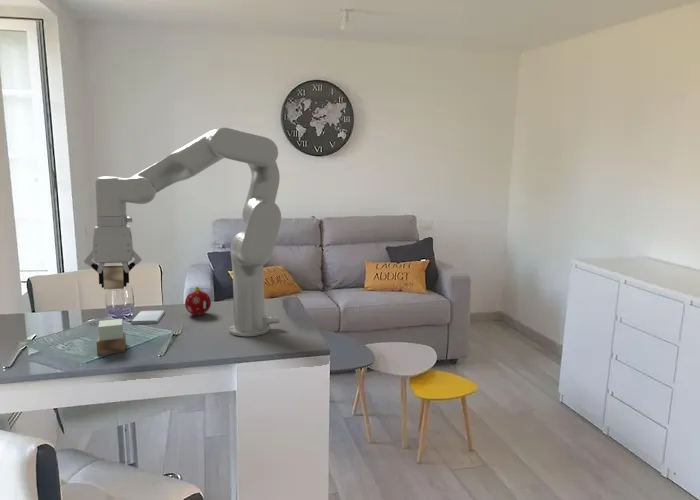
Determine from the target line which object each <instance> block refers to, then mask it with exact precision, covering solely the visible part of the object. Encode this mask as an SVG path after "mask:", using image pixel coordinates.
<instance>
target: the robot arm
mask: <svg viewBox="0 0 700 500" xmlns="http://www.w3.org/2000/svg"><path fill="white" fill-rule="evenodd" d="M278 157H279V149H278V146H277V144H276V143H275V141H273V140H272V139H270V138H268V137H265V136H262V135H257V134H254V133H251V132H250V133H249V132H245V131H241V130H237V129H234V128H230V127H218V128H215V129H211V130H210V131H208V132H206V133H204V134H203V135H201V136H199V137H198V138H195V139H194V140H193V141H191V142H189V143H187V144H186V145H183V146H182V147H181V148H178V149H176V150H175V151H173V152H172V153H170V154H168V155H167V156H166V157H164V158H162V159H161V160H159V161H157V162H155V163H154V164H152V165H150V166H148V167H146V168H145V169H143V170H141V171H139V172H138V173H136V174H134V175H132V176H131V177H127V178H126V177H125V178H123V177H120V176H99V177H97V178H96V180H95V202H96V203H95V204H96V205H95V206H96V225H97V226H94V229H93V236H92V237H93V238H92V251H90V253H89V254H88V255H87V257H86V258H85V259H84V264H86V265H88V266H89V267H91V268H92V269H93V270H94V271H95V272H97V274H98V284H99V285H100V286H101V288H103V289H104V277H103V267H104V266H105V265H106V264H116V263H117V264H122V265H123V267H124V273H123V279H124V288H127V285H128V284H129V283H130V271H131V270H132V269H134V268H135V266H136V265H138V264H139V263H141V261H142V257H141V256H140V255H139V254H138V253H137V252H136V251H135V250H134V246H133V245H134V244H133V236H132V230H131V227H130V225H128V224H129V223H133V217H130V216H127V203H129V204H135V205H145V204H148V203H151V202H152V201H153V200H154V198H155V197H156V194H157V193H159V192H160V191H162V190H164V189H166V188H167V187H169V186H172V185H174V184H176V183H179V182H182V181H185V180H186V181H187V180H188V179H190V178H193V177H195V176H197V175H198V174H200V173H202V171H205V170H206V169H208V168H209V167H211V166H213V165H214V164H216V163H218V162H221V160H223V159H227V160H231V161H235V162H239V163H244V164H247V165H248V166H249V169H250V172H251V180H250V184H249V185H250V186H249V188H248V193H247V196H246V200H245V203H244V206H243V209H242V219H243V221H244V223H245V224H246V228H245V231H244V230H243V231H240V232H238V233H237V234H235V235H234V237H233V238H232V240H231V243H230V252H229V253H230V258H231V261H230V262H231V267H232V296H233V297H232V299H233V324H232V325H230V326H229V327H228V331H229V333H230V334H232V335H233V336H237V337H238V336H239V337H256V336H257V337H258V336H261V335H264V334H267V333H268V332H269V331H270V324H271V325H272V324H274V325H276V324H280V323H281V322H280V317H279V316H278V317H277V316H276V317H275V316H266V315H265V279H264V278H265V273H264V265H266V264H267V262H269V260H270V259H271V257H272V254H273V251H274V247H275V244H276V241H277V238H278V235H279V231H280V228H281V222H282V214H281V213H282V212H281V210H280V207H279V206H278V204H276V200H277V194H278V191H279V186H280V178H281V177H280V176H281V175H280V169H279V166H278V163H277V160H278ZM133 258H134V260H133ZM132 260H133V261H132ZM129 262H130V263H129Z"/></svg>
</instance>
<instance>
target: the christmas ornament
mask: <svg viewBox="0 0 700 500" xmlns="http://www.w3.org/2000/svg"><path fill="white" fill-rule="evenodd" d="M211 304H212V301H211V297H210V295H208V294H207V293H206V291H203V290H200V287H199V286H196V287H195V290H194V291H191V292H190V293H189V294H188V295H187V296H186V298H185V299H184V306H185V309H186V311H188V314H191V315H192V316H193V315H194V316H202V315H205V313H207V312H208V311H209V310H210V309H211Z"/></svg>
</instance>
